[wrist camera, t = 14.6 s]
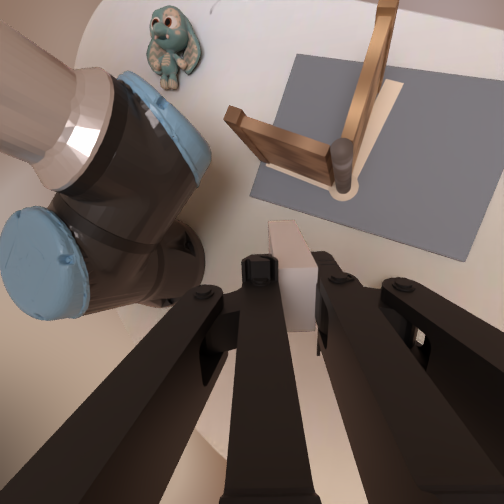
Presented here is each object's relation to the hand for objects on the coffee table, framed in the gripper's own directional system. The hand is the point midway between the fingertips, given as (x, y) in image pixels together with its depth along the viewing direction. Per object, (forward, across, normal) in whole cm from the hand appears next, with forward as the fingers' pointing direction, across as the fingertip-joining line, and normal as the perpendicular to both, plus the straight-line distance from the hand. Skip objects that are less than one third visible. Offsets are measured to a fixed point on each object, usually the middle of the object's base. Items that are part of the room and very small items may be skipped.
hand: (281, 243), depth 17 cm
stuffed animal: (+43, +14, -19) cm, 49 cm away
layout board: (+26, -15, -4) cm, 31 cm away
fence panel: (+27, -13, -7) cm, 31 cm away
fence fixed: (+28, -6, -1) cm, 29 cm away
